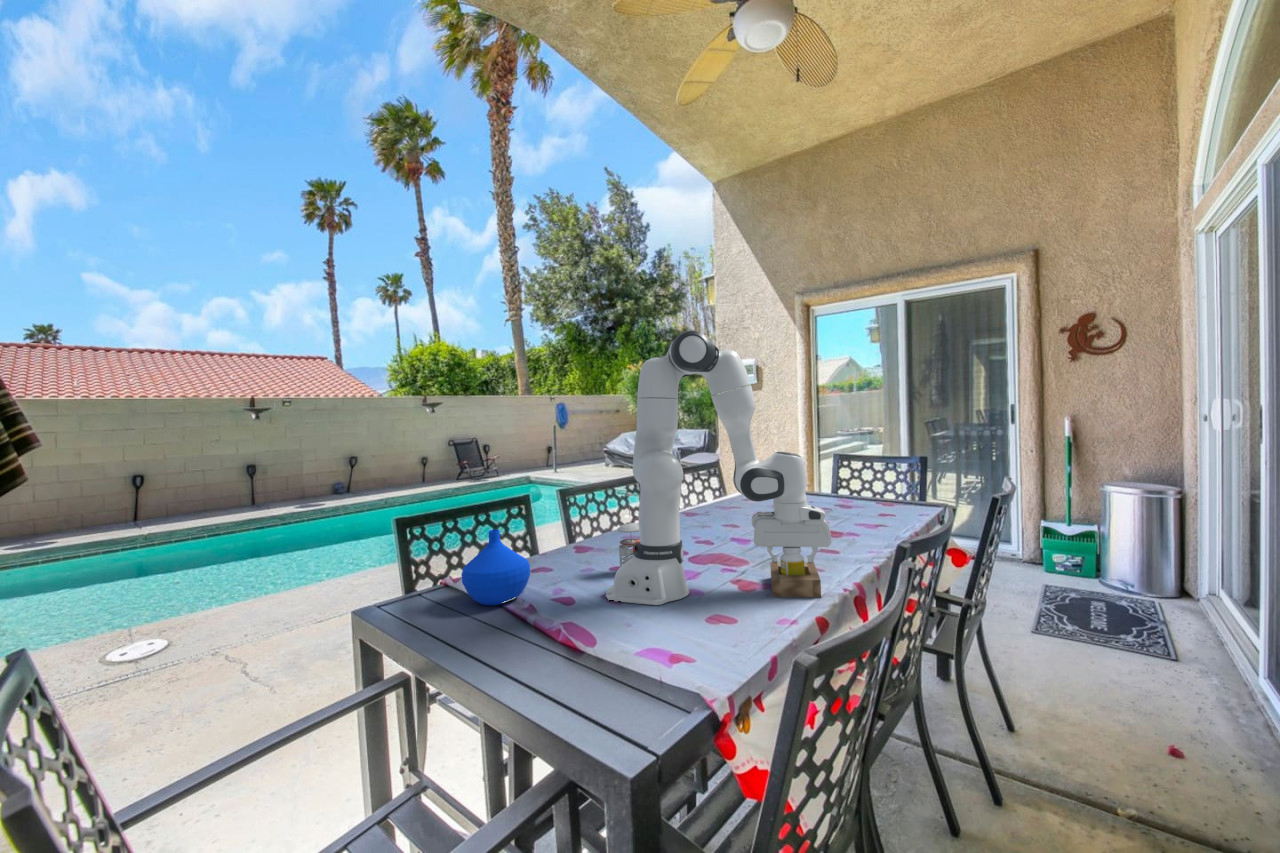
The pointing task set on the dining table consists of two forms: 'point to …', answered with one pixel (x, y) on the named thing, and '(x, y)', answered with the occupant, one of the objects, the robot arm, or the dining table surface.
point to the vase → (495, 573)
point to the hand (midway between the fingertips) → (792, 562)
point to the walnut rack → (795, 582)
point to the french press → (627, 542)
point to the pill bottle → (792, 561)
